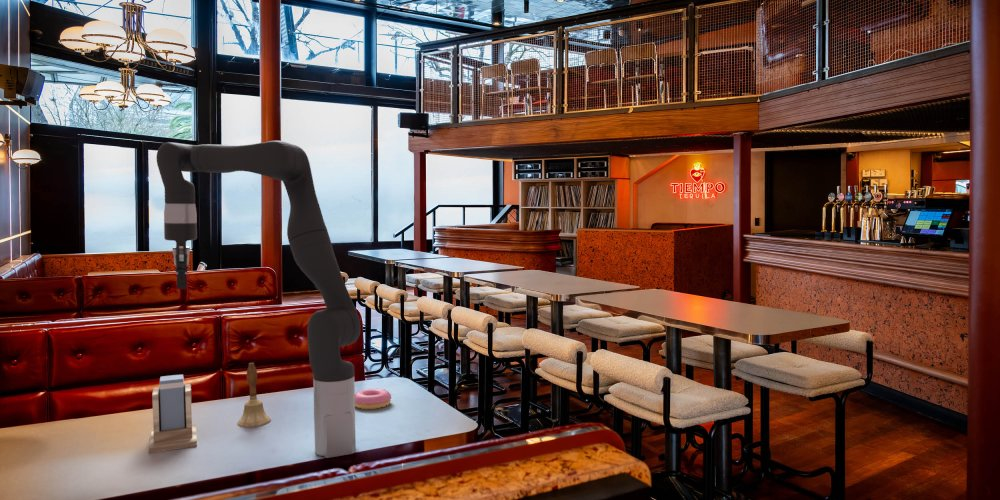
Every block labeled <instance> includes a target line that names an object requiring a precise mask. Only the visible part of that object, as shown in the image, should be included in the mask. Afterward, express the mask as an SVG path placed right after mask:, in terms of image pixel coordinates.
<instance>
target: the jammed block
mask: <svg viewBox="0 0 1000 500" xmlns="http://www.w3.org/2000/svg"><path fill="white" fill-rule="evenodd" d="M184 384H185V379H184V374H172V375H165V376H164V375H163V376H160V378H159V387H160V404H161V431H164V430H172V429H179V428H185V415H184Z"/></svg>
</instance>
